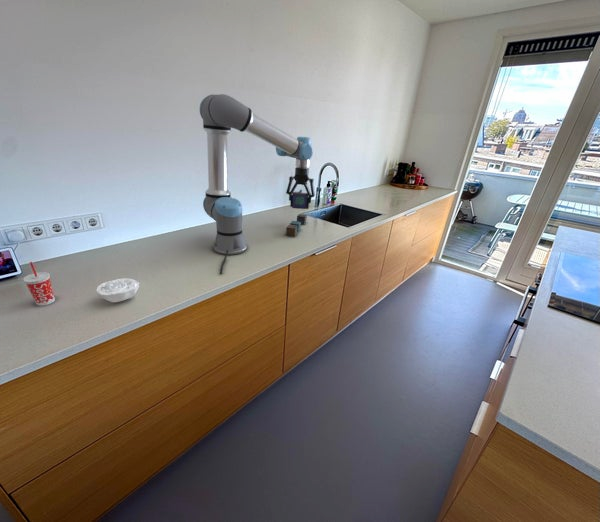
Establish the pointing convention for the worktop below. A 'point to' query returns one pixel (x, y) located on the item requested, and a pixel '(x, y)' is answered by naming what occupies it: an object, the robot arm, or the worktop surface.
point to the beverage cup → (40, 287)
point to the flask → (299, 200)
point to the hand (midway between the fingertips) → (299, 207)
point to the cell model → (118, 289)
